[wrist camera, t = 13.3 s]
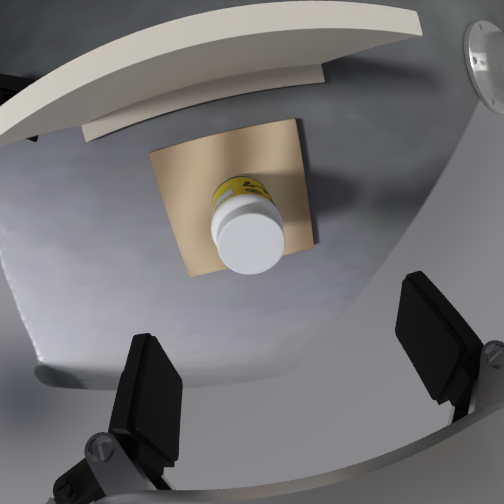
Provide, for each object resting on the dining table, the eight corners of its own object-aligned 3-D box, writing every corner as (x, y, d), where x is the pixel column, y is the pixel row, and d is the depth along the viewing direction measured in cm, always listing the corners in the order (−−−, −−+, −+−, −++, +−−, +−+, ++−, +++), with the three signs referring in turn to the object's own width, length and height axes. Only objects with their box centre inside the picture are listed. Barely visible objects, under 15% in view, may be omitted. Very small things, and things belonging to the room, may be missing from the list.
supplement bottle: (279, 199, 24) (308, 242, 17) (242, 237, 26) (254, 294, 18) (238, 161, 22) (249, 190, 15) (200, 203, 24) (193, 250, 16)
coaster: (292, 118, 22) (295, 118, 21) (311, 244, 28) (314, 247, 27) (150, 151, 22) (148, 153, 21) (190, 272, 28) (190, 277, 27)
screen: (310, 36, 19) (406, -19, 6) (320, 82, 21) (429, 70, 8) (79, 95, 18) (-37, 103, 6) (90, 140, 21) (-18, 187, 8)
